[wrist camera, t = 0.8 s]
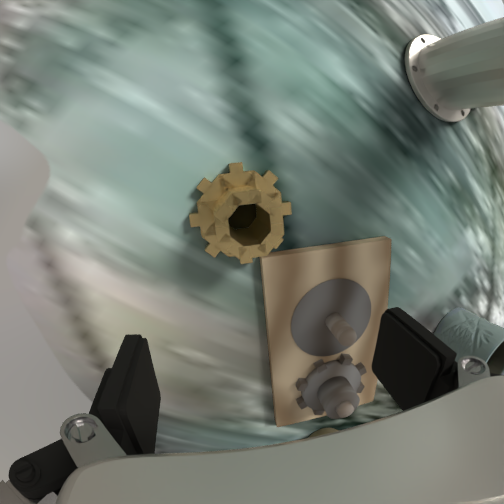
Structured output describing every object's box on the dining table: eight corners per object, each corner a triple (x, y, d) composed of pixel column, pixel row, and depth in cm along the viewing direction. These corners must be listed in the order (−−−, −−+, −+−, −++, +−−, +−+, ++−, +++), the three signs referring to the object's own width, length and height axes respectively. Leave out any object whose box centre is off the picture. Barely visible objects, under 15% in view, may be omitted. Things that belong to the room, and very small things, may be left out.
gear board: (384, 236, 33) (421, 252, 26) (369, 394, 40) (390, 424, 33) (259, 254, 31) (274, 278, 24) (274, 419, 38) (286, 456, 31)
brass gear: (283, 158, 29) (306, 155, 22) (291, 253, 31) (313, 275, 25) (184, 169, 28) (176, 169, 21) (197, 266, 30) (195, 293, 24)
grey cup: (421, 337, 38) (469, 380, 27) (462, 289, 37) (515, 320, 26) (439, 365, 41) (480, 403, 30) (475, 322, 40) (520, 353, 29)
